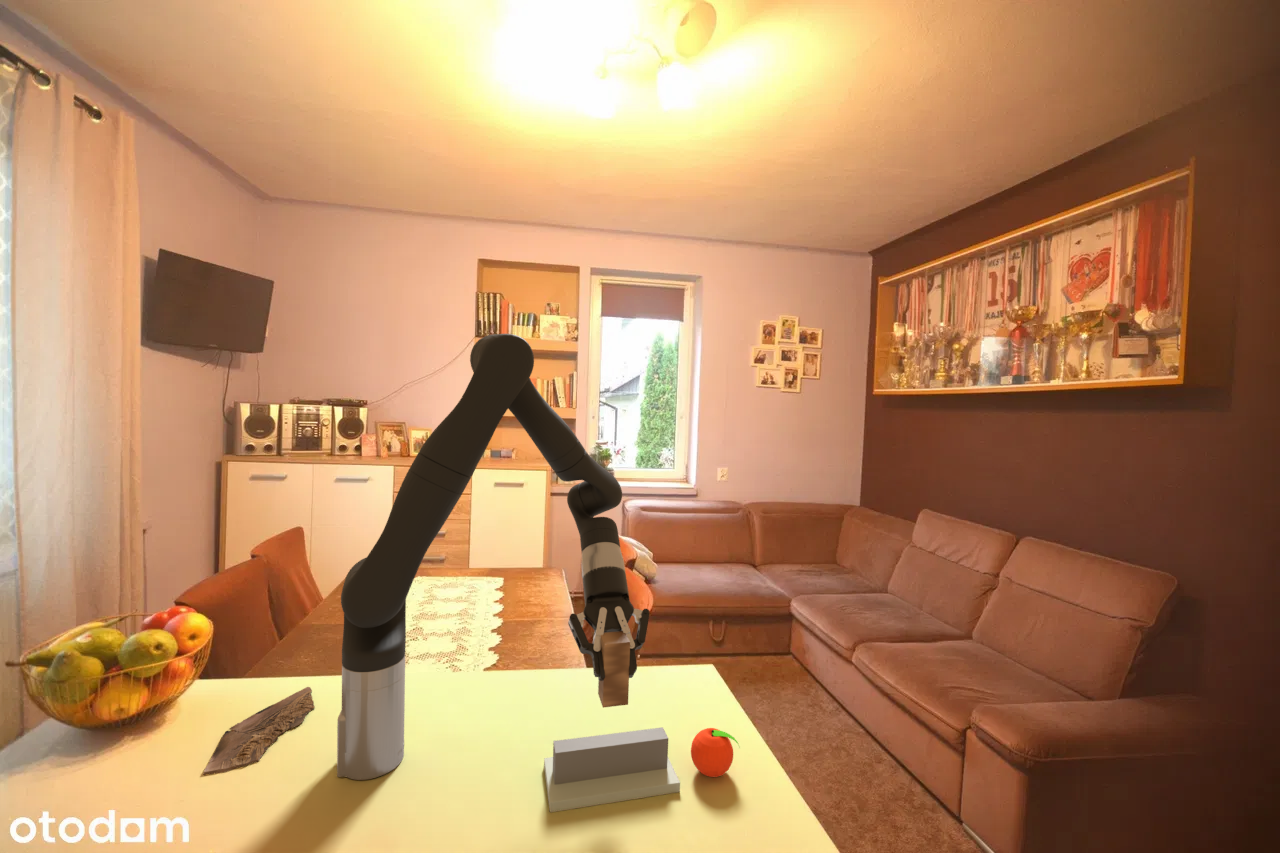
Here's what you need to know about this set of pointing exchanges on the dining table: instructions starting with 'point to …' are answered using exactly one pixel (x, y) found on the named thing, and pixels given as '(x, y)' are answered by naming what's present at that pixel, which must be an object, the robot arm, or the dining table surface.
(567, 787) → the ridge stand
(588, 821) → the dining table surface
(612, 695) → the walnut post
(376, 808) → the dining table surface
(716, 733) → the clementine
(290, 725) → the wooden fragment
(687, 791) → the dining table surface
